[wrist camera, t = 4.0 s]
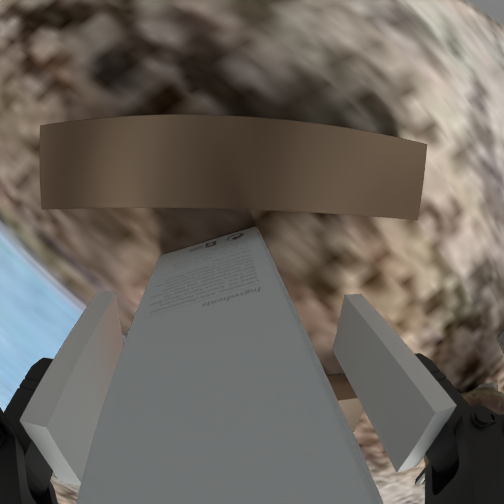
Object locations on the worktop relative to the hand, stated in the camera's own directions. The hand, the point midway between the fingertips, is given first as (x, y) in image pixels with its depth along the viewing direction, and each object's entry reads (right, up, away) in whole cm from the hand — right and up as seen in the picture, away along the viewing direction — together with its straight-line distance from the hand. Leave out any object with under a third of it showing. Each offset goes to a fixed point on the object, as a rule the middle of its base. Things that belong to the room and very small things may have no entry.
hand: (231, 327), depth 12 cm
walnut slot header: (0, +1, +2) cm, 2 cm away
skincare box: (0, +1, +2) cm, 2 cm away
